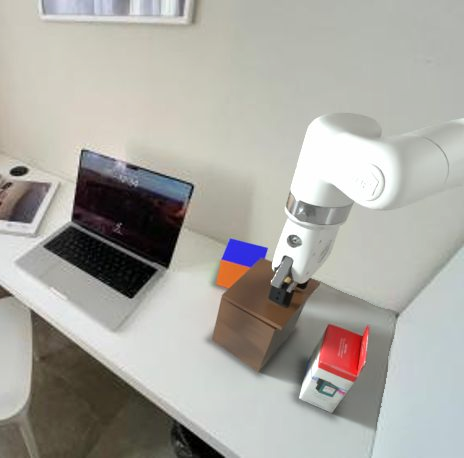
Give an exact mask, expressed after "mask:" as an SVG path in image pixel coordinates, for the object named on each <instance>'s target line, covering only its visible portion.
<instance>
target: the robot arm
mask: <svg viewBox="0 0 464 458" xmlns="http://www.w3.org/2000/svg"><path fill="white" fill-rule="evenodd" d="M382 130H383V129H382V126H381V124H380V123H379V122H378V121H377V120H376V119H374V118H372V117H370V116H368V115H364V114H359V113H352V112H333V113H326V114H322V115H320V116H318V117H316V118H314V120H312V121H311V122H310V124H309V125H308V127H307V130H306V133H305V137H304V139H303V143H302V147H301V151H300V154H299V157H298V160H297V163H296V168H295V172H294V174H293V178H292V182H291V186H290V190H289V193H288V196H287V199H286V202H285V203H286V204H285V206H284V212H285V213H286V216H287V220H286V222H285V225H284V227H283V230H282V232H281V235H280V237H279V240H278V243H277V246H276V249H275V251H274V256H273V259H272V262H273V263H272V269H273V271H277V272H276V274H275V276H274V278H273V279H272V281H271V283H270V284H271V285H272V287H271V290H270V293H269V297H268V298H269V300H271V301H273V302H275V303H277V304H279V305H281V306H283V307H284V308H288V307H289V306H290V303H291V300H292V298H293V295H294V292H295V290H293V288H294V286H295V284H296V282H298V284H297V286H296V287H298V288H300V289H305V288H306V287H307V285H308V282H309V279H310V278H311V279H312V277H313V276H314V275H315V274H316V273H317V271H318V270H319V269H320V268H321V267H322V266H323V265H324V264H325V262H326V261H327V260H328V259H329V257H330V255H331V253H332V250H333V247H334V244H335V242H336V239H337V235H338V233H339V229H340V227H341V226H343V225H344V224H345V223H346V222H347V221H348V219H349V218H348V217H349V215H350V213H351V210H352V208H353V206H354V203H356V204H357V205H360V206H362V207H363V208H367V209H370V210H374V211H384V212H385V211H392V210H398V209H401V208H403V207H406V206H409V205H412V204H414V203H417V202H419V201H422V200H425V199H427V198H430V197H432V196H435V195H438V194H441V193H444V192H446V191H449V190H452V189H455V188H458V187H462V186H464V117H461V118H456V119H450V120H446V121H441V122H437V123H433V124H430V125H427V126H423V127H419V128H416V129H413V130H410V131H406V132H404V133H400V134H397V135H390V136H382V135H383V134H382V133H383V131H382ZM287 277H289V278H292V279H291V281H290V283H289V284H288V283H287V282H284V281H285V278H287Z"/></svg>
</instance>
